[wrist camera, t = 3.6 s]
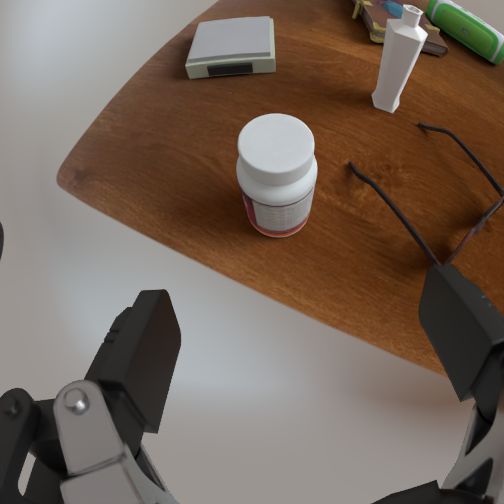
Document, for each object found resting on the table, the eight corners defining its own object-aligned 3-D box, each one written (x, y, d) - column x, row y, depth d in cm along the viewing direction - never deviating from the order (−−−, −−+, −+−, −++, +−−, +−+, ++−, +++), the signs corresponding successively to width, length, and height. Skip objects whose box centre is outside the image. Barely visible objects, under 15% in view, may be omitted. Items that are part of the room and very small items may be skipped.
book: (403, 3, 43) (408, -13, 38) (446, 64, 36) (456, 44, 31) (334, -11, 44) (337, -29, 39) (361, 44, 37) (367, 20, 32)
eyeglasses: (429, 280, 26) (453, 268, 22) (341, 168, 31) (349, 140, 26) (497, 209, 27) (519, 192, 23) (421, 120, 32) (434, 95, 27)
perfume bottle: (375, 85, 34) (398, -5, 20) (403, 101, 33) (436, 13, 19) (361, 101, 33) (384, 4, 19) (391, 119, 32) (426, 23, 18)
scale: (188, 81, 37) (182, 64, 34) (201, 36, 41) (197, 21, 37) (275, 74, 36) (274, 56, 33) (273, 30, 39) (272, 14, 36)
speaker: (421, 22, 39) (429, -5, 32) (432, 16, 40) (439, -9, 33) (495, 72, 35) (509, 46, 27) (500, 61, 36) (512, 38, 29)
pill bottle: (249, 182, 31) (233, 107, 20) (309, 183, 30) (319, 108, 20) (245, 238, 29) (224, 178, 19) (309, 240, 29) (324, 180, 18)
